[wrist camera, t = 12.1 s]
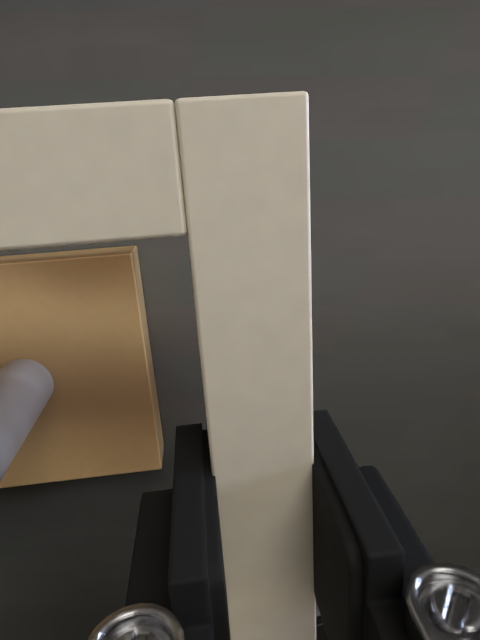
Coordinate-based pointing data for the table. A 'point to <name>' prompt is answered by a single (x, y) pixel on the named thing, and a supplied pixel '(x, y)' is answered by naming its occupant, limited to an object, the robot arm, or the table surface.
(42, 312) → the wooden base with peg
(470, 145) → the table surface
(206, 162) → the white square frame
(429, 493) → the table surface
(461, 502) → the table surface
